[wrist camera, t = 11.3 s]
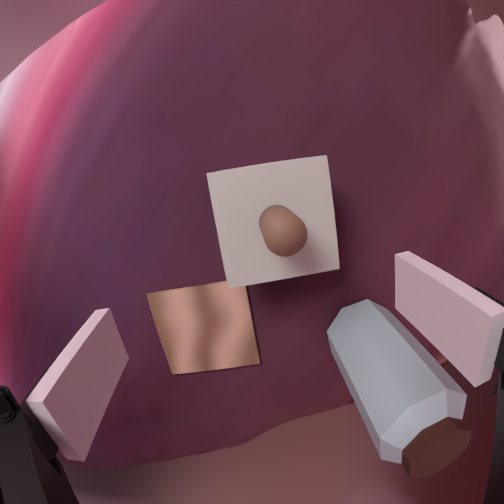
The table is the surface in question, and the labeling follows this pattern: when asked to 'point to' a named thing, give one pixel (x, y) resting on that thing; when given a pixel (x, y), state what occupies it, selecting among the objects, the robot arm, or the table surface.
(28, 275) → the table surface
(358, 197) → the table surface
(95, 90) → the table surface
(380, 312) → the water bottle
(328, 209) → the lid
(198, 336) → the plate
